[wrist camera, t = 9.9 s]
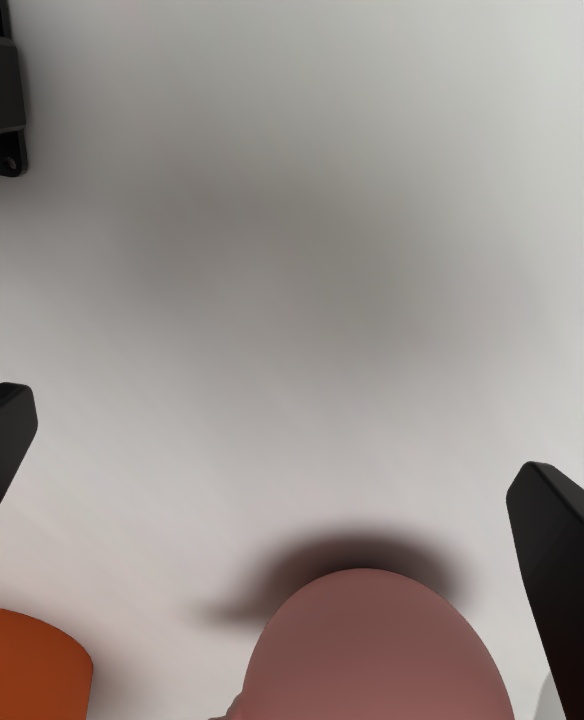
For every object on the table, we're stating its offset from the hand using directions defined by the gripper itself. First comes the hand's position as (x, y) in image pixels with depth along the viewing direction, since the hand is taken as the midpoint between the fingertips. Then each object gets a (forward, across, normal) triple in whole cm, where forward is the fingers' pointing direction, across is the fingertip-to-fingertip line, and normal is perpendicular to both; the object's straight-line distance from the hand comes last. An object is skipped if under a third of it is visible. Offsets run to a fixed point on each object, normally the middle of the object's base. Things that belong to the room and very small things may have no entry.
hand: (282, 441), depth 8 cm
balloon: (+13, -6, +25) cm, 29 cm away
